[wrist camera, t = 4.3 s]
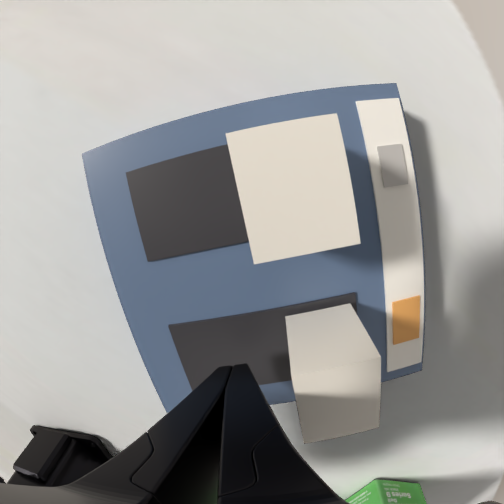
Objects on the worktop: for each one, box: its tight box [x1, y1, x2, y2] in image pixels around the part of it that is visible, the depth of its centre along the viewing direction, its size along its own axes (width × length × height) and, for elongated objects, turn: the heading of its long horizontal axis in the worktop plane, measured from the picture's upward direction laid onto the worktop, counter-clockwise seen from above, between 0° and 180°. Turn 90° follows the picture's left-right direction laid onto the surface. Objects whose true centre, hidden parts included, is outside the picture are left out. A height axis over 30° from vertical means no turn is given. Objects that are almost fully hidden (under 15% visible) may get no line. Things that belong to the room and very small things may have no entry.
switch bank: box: [82, 83, 425, 413], centre depth 10 cm, size 10×10×2 cm
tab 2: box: [285, 303, 381, 444], centre depth 8 cm, size 2×2×3 cm
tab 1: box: [226, 113, 361, 264], centre depth 7 cm, size 2×2×3 cm
